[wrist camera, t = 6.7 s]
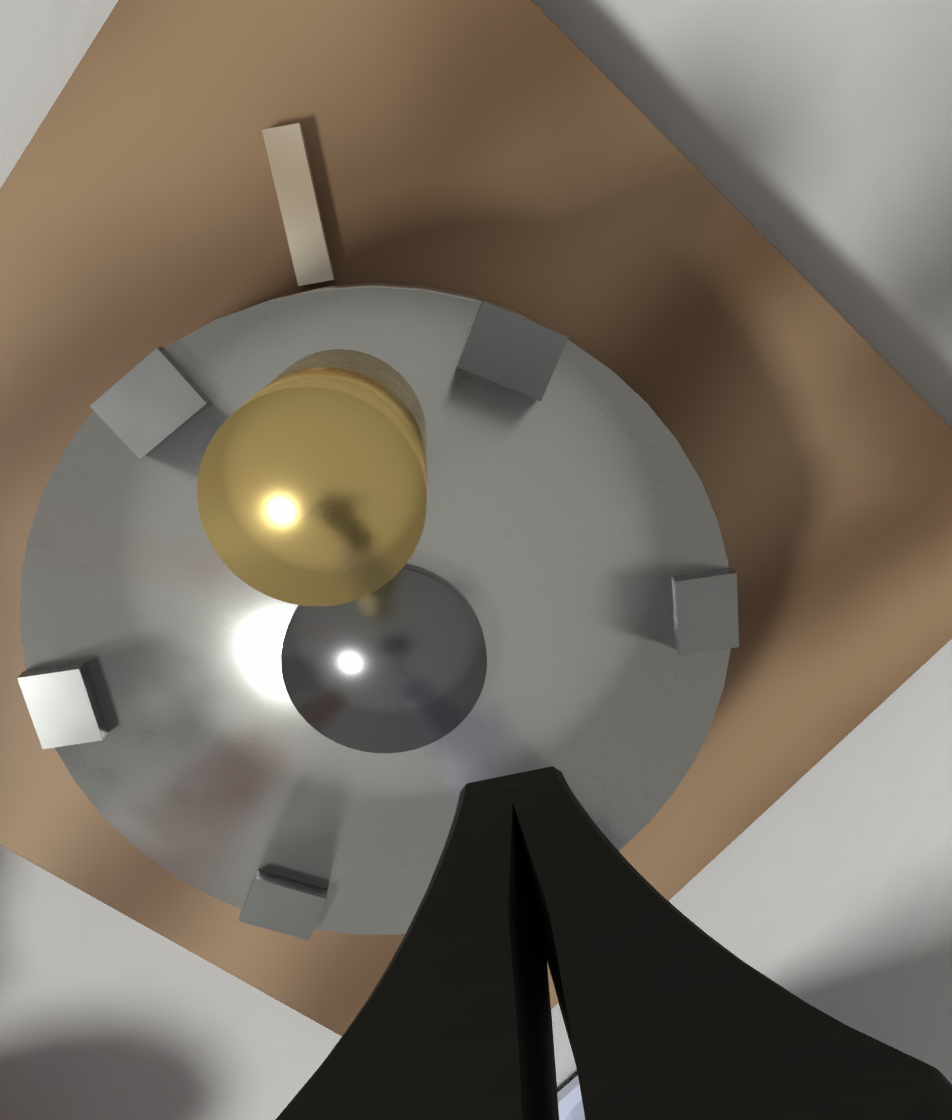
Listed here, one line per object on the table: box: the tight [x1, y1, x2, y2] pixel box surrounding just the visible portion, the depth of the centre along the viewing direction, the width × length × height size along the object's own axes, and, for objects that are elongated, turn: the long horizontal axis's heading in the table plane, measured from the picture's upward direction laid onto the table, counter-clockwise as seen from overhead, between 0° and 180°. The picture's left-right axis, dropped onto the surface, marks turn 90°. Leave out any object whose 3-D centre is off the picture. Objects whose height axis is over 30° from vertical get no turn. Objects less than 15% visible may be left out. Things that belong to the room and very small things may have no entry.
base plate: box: [0, 0, 952, 1036], centre depth 20 cm, size 22×22×1 cm
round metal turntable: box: [17, 282, 739, 940], centre depth 16 cm, size 14×14×7 cm
